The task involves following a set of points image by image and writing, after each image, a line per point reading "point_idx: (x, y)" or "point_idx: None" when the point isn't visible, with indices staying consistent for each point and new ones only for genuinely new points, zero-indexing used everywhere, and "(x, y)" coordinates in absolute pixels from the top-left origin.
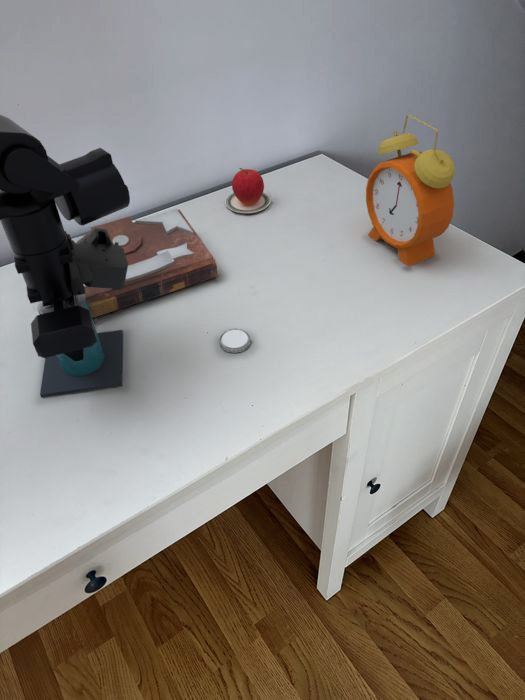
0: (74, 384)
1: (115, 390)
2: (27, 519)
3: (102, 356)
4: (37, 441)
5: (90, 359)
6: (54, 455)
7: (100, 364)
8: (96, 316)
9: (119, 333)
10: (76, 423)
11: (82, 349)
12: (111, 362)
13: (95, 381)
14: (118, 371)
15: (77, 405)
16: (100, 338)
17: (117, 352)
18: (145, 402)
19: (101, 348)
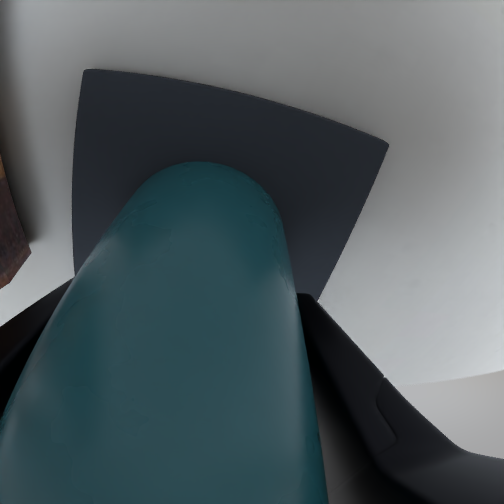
0: (305, 281)
1: (385, 166)
2: (495, 356)
3: (239, 178)
4: (401, 352)
5: (286, 249)
6: (450, 329)
7: (262, 189)
8: (1, 161)
9: (101, 81)
10: (418, 287)
11: (355, 346)
12: (262, 144)
13: (331, 222)
14: (328, 133)
15: (370, 277)
16: (104, 159)
17: (212, 106)
18: (473, 107)
19: (216, 183)
